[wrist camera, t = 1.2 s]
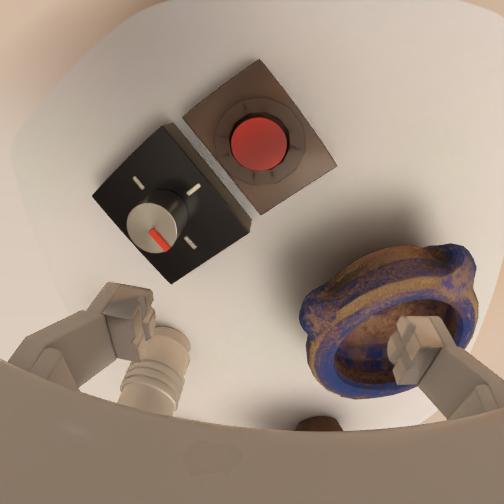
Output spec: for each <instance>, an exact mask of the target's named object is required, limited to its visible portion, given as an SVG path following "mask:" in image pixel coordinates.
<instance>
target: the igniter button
mask: <svg viewBox="0 0 504 504" xmlns="http://www.w3.org/2000/svg"><path fill="white" fill-rule="evenodd" d="M286 148H287V141H286V137H285V134H284V131H283V129H282V128H281V126H280V125H279V124H278V123H277V122H276V121H274V120H272V119H270V118H268V117H263V116H256V117H251V118H249V119H247V120H245V121H244V122H242V123H241V124H240V125H239V126H238V127H237V128H236V130H235V131H234V133H233V135H232V139H231V149H232V152H233V155H234V157H235V159H236V160H237V161H238V162H239V163H240V164H241V165H242V166H244V167H245V168H247V169H250V170H254V171H265V170H268V169H271V168H273V167H275V166H276V165H277V164H278V163H279V162H280V161H281V160H282V159H283V157H284V155H285V153H286Z"/></svg>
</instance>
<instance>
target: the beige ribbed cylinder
mask: <svg viewBox="0 0 504 504" xmlns="http://www.w3.org/2000/svg"><path fill="white" fill-rule="evenodd" d="M146 346H147V349H146V351H145V353H144V356H143V358H142V360H141V363H140V362H135V361H131V363H130V366H129V368H128V370H127V372H126V375H125V377H124V379H123V381H122V384H121V386H120V390H121V395H120V398H119V400H118V402H117V403H118V404H122V405H126V406H129V407H133V408H137V409H141V410H145V411H149V412H154V413H158V414H163V415H168V416H172V414H173V412H174V411H175V410H176V409H177V407H178V402H179V399H180V396H181V395H180V394H181V392H182V388H183V385H184V381H185V379H184V375H185V372H186V370H187V367H188V365H189V362H190V356H189V354H188V352H189V350H190V343H189V341H188V339H187V338H186V337H185V336H184V335H183V334H182V333H180V332H179V331H177V330H175V329H172V328H169V327H156V328H154V332H153V335H152V337H151V339H149V340H147V341H146Z"/></svg>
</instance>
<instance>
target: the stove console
mask: <svg viewBox="0 0 504 504" xmlns="http://www.w3.org/2000/svg"><path fill="white" fill-rule="evenodd" d="M162 189H163V190H169V191H172V192H174V193H176V194H177V195H179V196H180V197H181V198H182V200H183V201H184V203H185V204H186V207H187V210H188V220H187V223H186V225H185V227H184V228H183V230H182V231H181V233H180V235H179V236H178V238H177V239H176V241H175V243H174V244H173V246H172V247H171V248H170V249H169V250H167V251H166V252H165V251H164V252H161V253H150V252H147V251H144V250H142V249H141V248H139V247H138V246H137V245H136V244H135V243H134V242H133V241H132V239H131V238H130V236H129V234H128V230H127V218H128V215H129V213H130V212H131V210H132V209H133V208H134V207H135V206H136V205H138V204H139V203H140V202H141V201H142V200H143V199H144V198H145V197H146V196H148V195H149V194H150V193H152V192H153V191H156V190H162ZM92 197H93V198H94V199H95V201H96V202H97V203H98V204H99V205H100V207H101V208H102V209H103V210H104V211H105V212H106V214H107V215H108V216H109V217H110V218H111V219H112V221H113V222H114V223H115V224H116V225H117V226H118V227H119V229H120V230H121V231H122V232H123V233H124V234H125V235H126V237H127V238H128V239H129V240H130V241H131V242H132V243H133V244H134V245H135V247H136V248H137V249H138V250H139V251H140V252H141V253H142V254H143V255H144V256H145V258H146V259H147V260H148V261H149V262H150V263H151V264H152V265H153V266H154V267H155V268H156V269H157V270H158V271H159V272H160V274H161V275H162V276H163V277H164V278H165V279H166V280H167V281H168V282H169V283H170V284H173V283H174V282H176V281H177V280H179V279H180V278H182V277H183V276H185V275H186V274H188V273H189V272H191V271H192V270H194V269H195V268H197V267H198V266H200V265H201V264H203V263H204V262H206V261H207V260H209V259H210V258H212V257H213V256H215V255H216V254H218V253H219V252H221V251H222V250H224V249H225V248H227V247H228V246H230V245H231V244H233V243H234V242H236V241H237V240H239V239H241V238H242V237H244V236H245V235H247V234H248V233H249V232H250V227H251V221H252V219H251V218H250V217H249V216H248V214H247V213H246V212H245V211H244V209H243V208H242V207H241V206H240V204H239V203H238V202H237V201H236V199H235V198H234V197H233V196H232V194H231V193H230V192H229V191H228V189H227V188H226V187H225V186H224V184H223V183H222V182H221V181H220V179H219V178H218V177H217V176H216V174H215V173H214V172H213V171H212V169H211V168H210V167H209V166H208V165H207V163H206V162H205V161H204V160H203V158H202V157H201V156H200V155H199V153H198V152H197V151H196V150H195V149H194V147H193V146H192V145H191V144H190V142H189V141H188V140H187V139H186V138H185V136H184V135H183V134H182V133H181V132H180V130H179V129H178V128H177V127H176V125H175V124H174V123H169V124H166V125H163V126H161V127H160V128H159V129H157V130H156V131H155V132H154V133H153V134H152V135H151V136H150V137H149V138H148V139H147V140H146V141H145V142H143V143H142V144H141V145H140V146H139V147H138V148H137V149H136V150H135V151H134V152H133V153H132V154H131V155H130V156H129V157H128V158H127V159H126V160H125V161H124V162H123V163H122V164H121V165H120V166H119V167H118V168H117V169H116V170H115V171H114V172H113V173H112V174H111V175H110V177H109V178H108V179H107V180H106V181H105V182H104V183H103V184H102V185H101V186H100V187H99V188H98V189H97V191H96V192H95V193H94V194H93V195H92Z"/></svg>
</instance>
